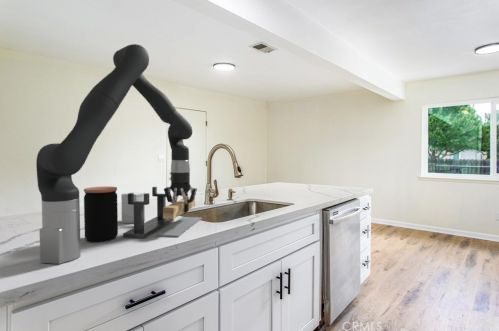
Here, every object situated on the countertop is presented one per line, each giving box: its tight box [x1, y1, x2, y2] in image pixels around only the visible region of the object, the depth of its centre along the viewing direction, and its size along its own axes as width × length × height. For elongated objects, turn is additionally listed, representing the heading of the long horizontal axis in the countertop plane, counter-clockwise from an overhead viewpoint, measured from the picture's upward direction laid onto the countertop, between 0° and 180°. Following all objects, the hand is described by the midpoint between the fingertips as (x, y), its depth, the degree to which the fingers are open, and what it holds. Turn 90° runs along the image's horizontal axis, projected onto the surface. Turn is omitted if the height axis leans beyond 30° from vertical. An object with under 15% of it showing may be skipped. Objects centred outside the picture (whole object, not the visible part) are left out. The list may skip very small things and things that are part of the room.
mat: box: [154, 216, 202, 238], centre depth 124 cm, size 30×9×1 cm, turn 173°
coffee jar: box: [83, 186, 119, 243], centre depth 106 cm, size 11×11×18 cm
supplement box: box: [120, 191, 146, 224], centre depth 132 cm, size 7×7×13 cm
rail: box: [163, 196, 196, 220], centre depth 123 cm, size 26×4×4 cm, turn 173°
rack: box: [122, 186, 175, 239], centre depth 121 cm, size 28×8×16 cm, turn 173°
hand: (180, 212), depth 123 cm, fingers closed on rail, 4 cm apart
